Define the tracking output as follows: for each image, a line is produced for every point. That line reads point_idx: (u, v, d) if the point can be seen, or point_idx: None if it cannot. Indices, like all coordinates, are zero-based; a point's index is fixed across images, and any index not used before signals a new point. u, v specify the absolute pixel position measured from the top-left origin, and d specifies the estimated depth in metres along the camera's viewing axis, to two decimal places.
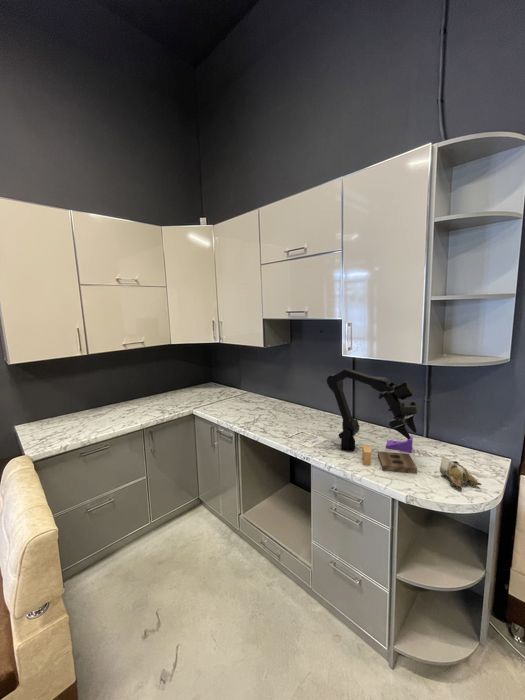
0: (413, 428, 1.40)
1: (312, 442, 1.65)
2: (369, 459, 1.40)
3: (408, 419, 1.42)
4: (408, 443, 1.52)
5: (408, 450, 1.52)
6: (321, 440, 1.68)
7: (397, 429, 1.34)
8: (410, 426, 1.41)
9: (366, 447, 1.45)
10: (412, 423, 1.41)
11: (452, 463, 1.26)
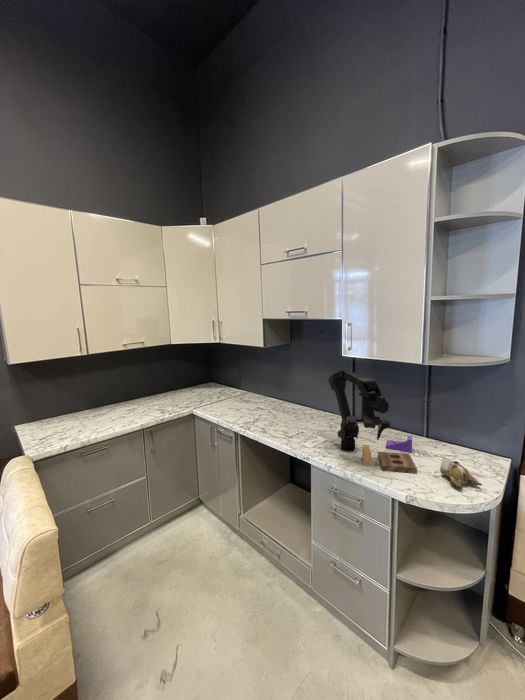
0: (377, 435, 1.42)
1: (312, 442, 1.65)
2: (369, 459, 1.40)
3: (379, 426, 1.41)
4: (408, 443, 1.52)
5: (408, 450, 1.53)
6: (321, 440, 1.68)
7: None
8: (377, 432, 1.42)
9: (366, 447, 1.45)
10: (378, 431, 1.41)
11: (452, 463, 1.26)
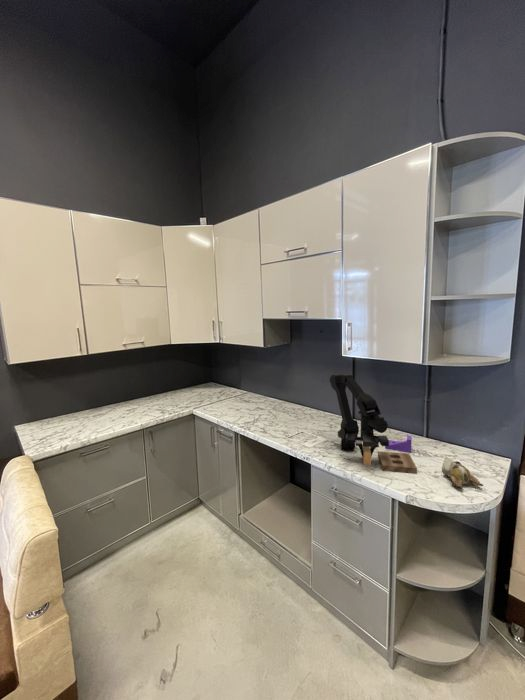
0: None
1: (312, 442, 1.65)
2: (369, 459, 1.40)
3: None
4: (408, 443, 1.52)
5: (408, 450, 1.53)
6: (321, 440, 1.68)
7: None
8: None
9: (366, 447, 1.45)
10: (371, 449, 1.42)
11: (454, 463, 1.26)
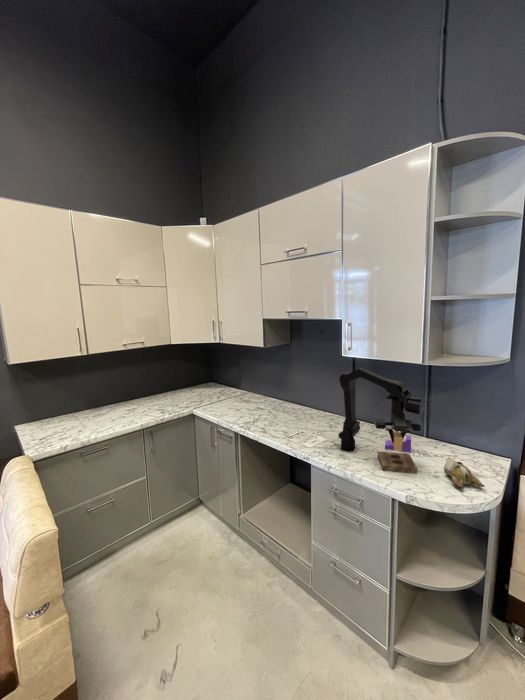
0: None
1: (312, 442, 1.65)
2: (400, 444, 1.36)
3: None
4: (408, 443, 1.52)
5: (407, 450, 1.53)
6: (321, 440, 1.68)
7: None
8: None
9: (396, 432, 1.41)
10: (401, 434, 1.38)
11: (456, 463, 1.25)
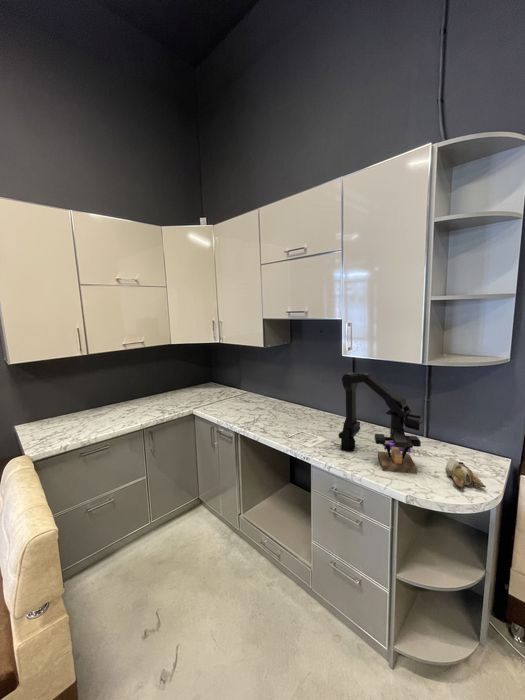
0: (402, 454, 1.40)
1: (312, 442, 1.65)
2: (400, 462, 1.36)
3: None
4: None
5: None
6: (321, 440, 1.68)
7: None
8: (402, 450, 1.40)
9: (396, 449, 1.42)
10: (404, 450, 1.39)
11: (457, 464, 1.25)
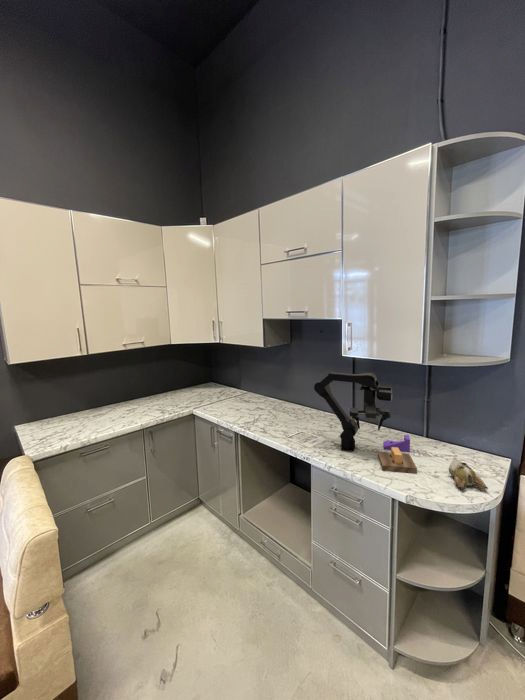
0: (378, 426, 1.51)
1: (312, 442, 1.65)
2: (400, 462, 1.36)
3: (379, 417, 1.50)
4: (407, 442, 1.53)
5: (406, 449, 1.53)
6: (321, 440, 1.68)
7: None
8: (378, 423, 1.51)
9: (396, 449, 1.42)
10: (379, 422, 1.50)
11: (460, 464, 1.25)
